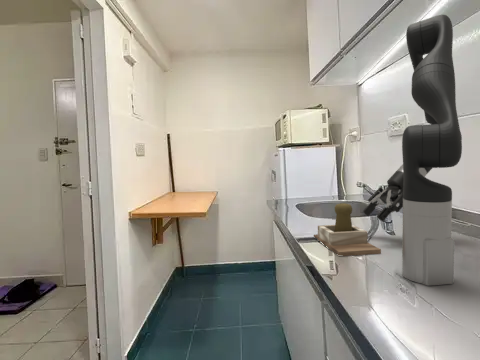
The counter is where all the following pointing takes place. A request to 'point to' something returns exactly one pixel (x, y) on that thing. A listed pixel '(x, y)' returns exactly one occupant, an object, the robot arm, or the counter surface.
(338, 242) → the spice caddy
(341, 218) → the cork
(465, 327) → the counter surface
